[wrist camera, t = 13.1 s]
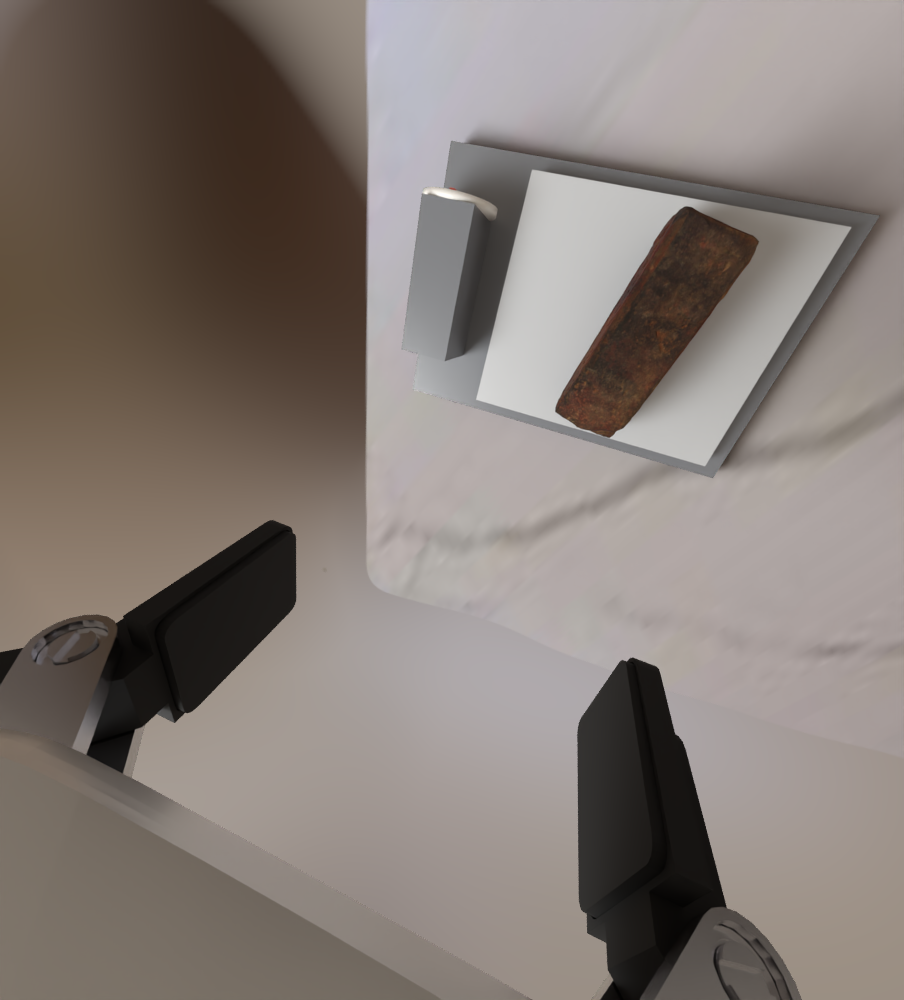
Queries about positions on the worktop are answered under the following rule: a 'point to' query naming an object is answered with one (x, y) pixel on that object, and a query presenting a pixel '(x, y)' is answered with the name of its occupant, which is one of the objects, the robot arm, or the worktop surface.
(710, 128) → the worktop surface
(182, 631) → the robot arm
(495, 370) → the scale
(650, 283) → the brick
